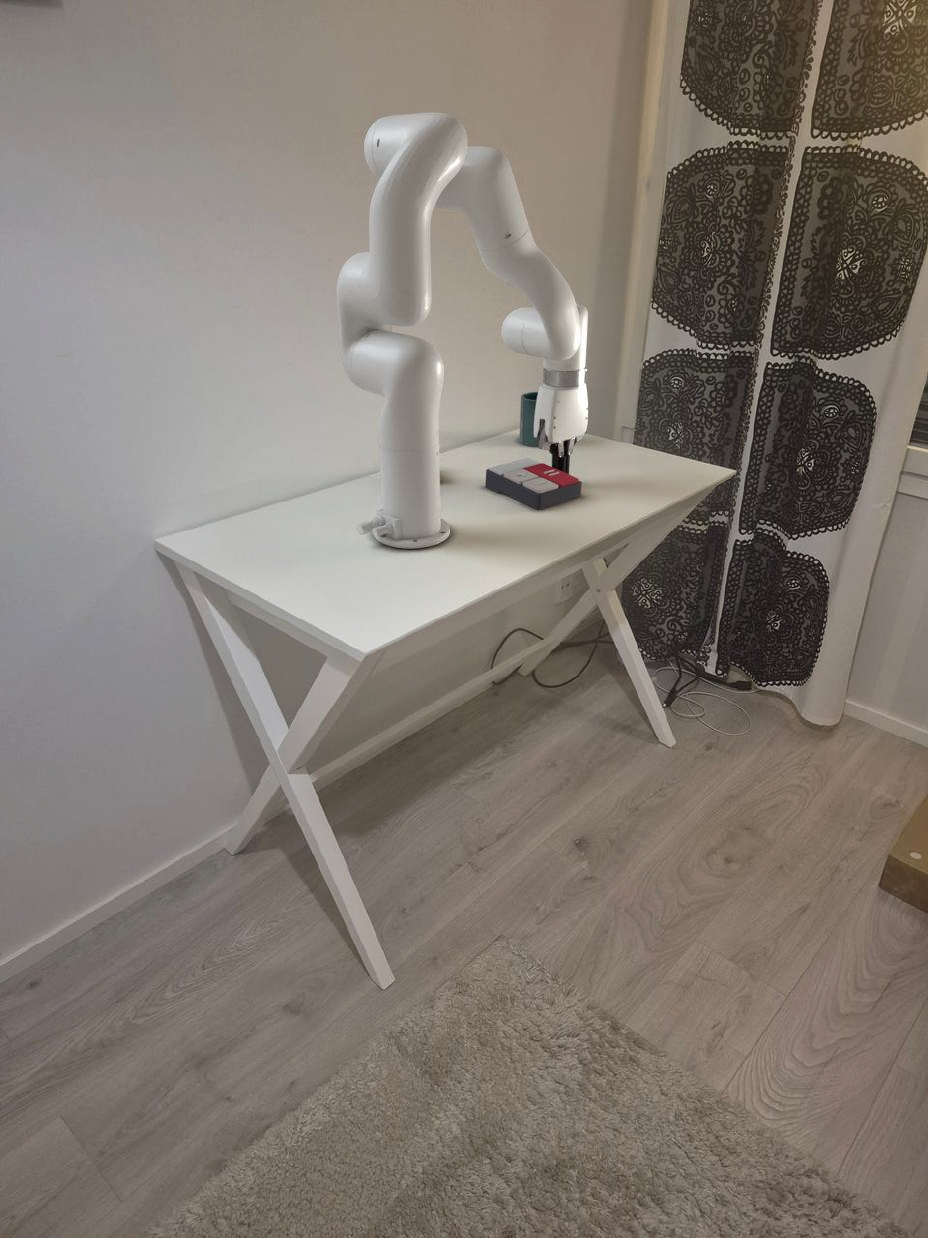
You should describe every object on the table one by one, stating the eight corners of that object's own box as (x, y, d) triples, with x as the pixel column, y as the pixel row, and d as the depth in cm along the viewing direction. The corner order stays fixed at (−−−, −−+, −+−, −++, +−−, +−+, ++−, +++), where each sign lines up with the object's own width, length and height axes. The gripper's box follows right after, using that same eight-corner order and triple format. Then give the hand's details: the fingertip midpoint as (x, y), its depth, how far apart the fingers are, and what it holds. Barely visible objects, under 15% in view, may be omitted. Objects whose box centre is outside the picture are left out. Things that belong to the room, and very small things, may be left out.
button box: (539, 491, 141) (485, 465, 151) (537, 513, 143) (484, 486, 153) (583, 478, 147) (528, 454, 157) (581, 499, 149) (526, 474, 159)
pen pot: (537, 449, 174) (539, 403, 169) (512, 440, 180) (513, 395, 175) (564, 442, 178) (566, 396, 174) (538, 433, 184) (540, 389, 179)
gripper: (578, 366, 151) (573, 460, 160) (519, 380, 143) (518, 478, 152) (607, 373, 146) (601, 470, 155) (548, 388, 138) (545, 489, 147)
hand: (560, 473), depth 154 cm, fingers closed
